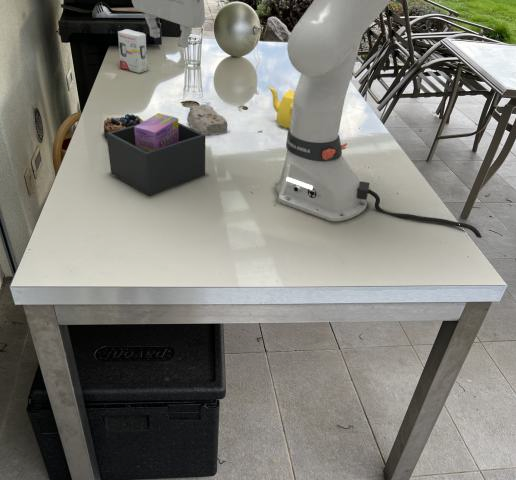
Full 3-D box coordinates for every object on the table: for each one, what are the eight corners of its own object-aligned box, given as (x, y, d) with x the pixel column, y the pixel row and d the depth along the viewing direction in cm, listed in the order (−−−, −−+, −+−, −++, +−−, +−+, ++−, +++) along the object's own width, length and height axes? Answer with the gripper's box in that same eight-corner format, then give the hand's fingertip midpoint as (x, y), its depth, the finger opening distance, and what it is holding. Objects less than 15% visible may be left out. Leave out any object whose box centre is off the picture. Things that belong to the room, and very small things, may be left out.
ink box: (119, 68, 189) (116, 31, 181) (128, 65, 193) (125, 28, 185) (139, 73, 187) (137, 36, 179) (148, 70, 190) (146, 33, 182)
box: (157, 181, 126) (154, 131, 118) (137, 175, 128) (133, 126, 120) (180, 165, 133) (178, 117, 125) (160, 160, 135) (158, 112, 127)
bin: (205, 175, 133) (205, 135, 126) (149, 196, 123) (146, 154, 116) (167, 155, 139) (165, 116, 133) (111, 174, 129) (106, 132, 123)
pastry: (99, 132, 147) (96, 111, 143) (140, 126, 152) (138, 105, 148) (114, 148, 140) (112, 125, 136) (156, 141, 146) (155, 119, 142)
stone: (232, 124, 150) (198, 123, 146) (228, 142, 154) (195, 142, 150) (218, 99, 157) (185, 97, 153) (214, 117, 161) (183, 116, 157)
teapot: (283, 136, 155) (287, 99, 148) (264, 119, 163) (267, 84, 156) (323, 131, 160) (329, 95, 153) (303, 116, 168) (308, 81, 161)
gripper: (212, -26, 107) (211, 51, 116) (146, -42, 116) (150, 30, 125) (188, -23, 103) (189, 55, 112) (123, -41, 112) (129, 33, 122)
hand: (168, 42), depth 119 cm, fingers open, 8 cm apart
